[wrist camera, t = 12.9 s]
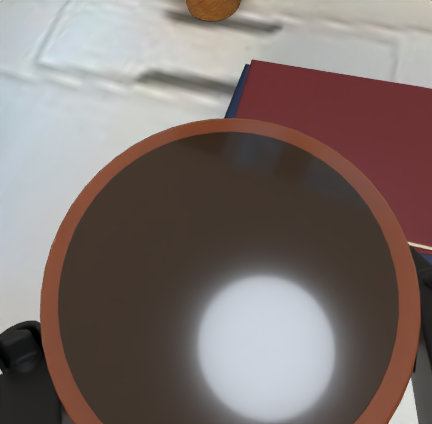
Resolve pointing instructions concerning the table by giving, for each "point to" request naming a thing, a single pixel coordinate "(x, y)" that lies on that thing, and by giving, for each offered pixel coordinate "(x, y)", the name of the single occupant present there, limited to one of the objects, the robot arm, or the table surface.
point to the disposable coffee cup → (212, 8)
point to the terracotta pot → (230, 285)
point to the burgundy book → (357, 131)
